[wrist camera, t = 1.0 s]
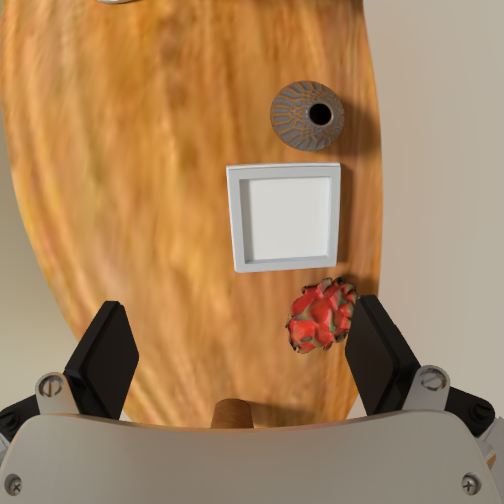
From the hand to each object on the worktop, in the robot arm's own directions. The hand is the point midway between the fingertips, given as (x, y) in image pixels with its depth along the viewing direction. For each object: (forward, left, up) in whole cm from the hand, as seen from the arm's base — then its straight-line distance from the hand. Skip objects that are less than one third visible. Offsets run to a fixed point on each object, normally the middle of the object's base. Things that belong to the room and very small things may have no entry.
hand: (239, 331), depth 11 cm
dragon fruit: (+15, +9, -23) cm, 29 cm away
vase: (-8, +7, -23) cm, 25 cm away
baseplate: (+3, +5, -23) cm, 23 cm away
